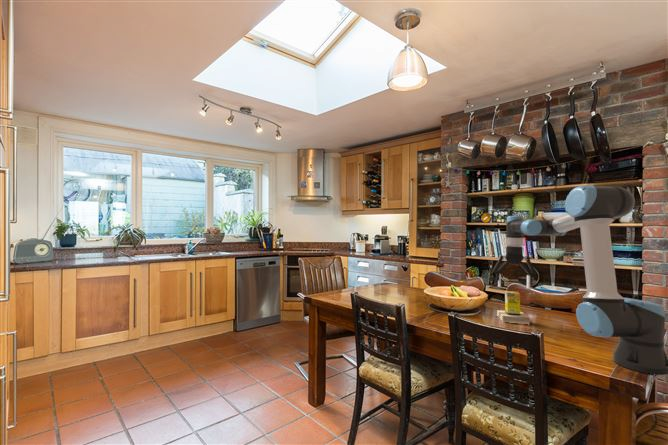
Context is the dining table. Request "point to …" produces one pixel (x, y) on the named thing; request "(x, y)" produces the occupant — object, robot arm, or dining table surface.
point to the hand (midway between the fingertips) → (513, 287)
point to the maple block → (513, 317)
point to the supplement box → (512, 303)
